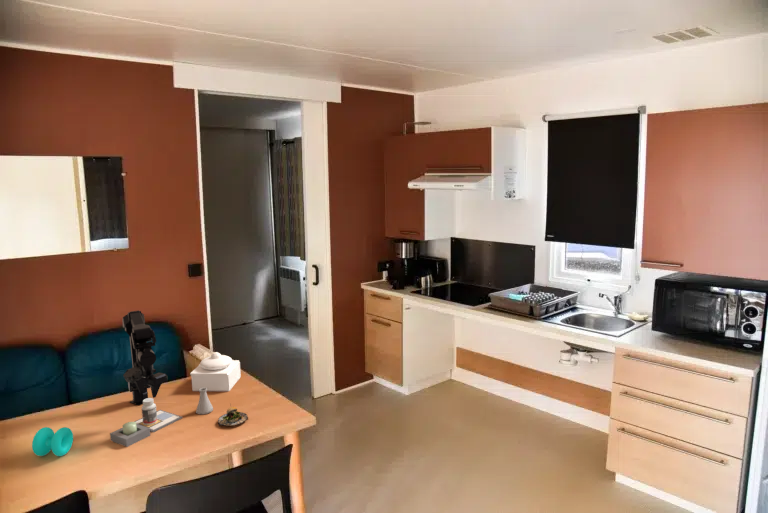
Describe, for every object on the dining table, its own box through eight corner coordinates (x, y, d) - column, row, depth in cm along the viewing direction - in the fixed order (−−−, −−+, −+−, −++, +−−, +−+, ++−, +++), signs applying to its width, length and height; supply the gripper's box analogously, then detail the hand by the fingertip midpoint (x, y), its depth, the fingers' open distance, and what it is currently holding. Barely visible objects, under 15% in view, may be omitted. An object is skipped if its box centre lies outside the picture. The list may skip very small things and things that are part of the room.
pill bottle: (140, 422, 216) (138, 400, 215) (153, 418, 220) (151, 395, 219) (146, 426, 213) (144, 403, 211) (159, 422, 217) (157, 399, 215)
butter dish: (229, 391, 248) (227, 359, 245) (191, 391, 249) (188, 359, 246) (241, 377, 265) (239, 346, 263) (205, 376, 266) (203, 346, 263)
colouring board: (130, 424, 217) (130, 422, 216) (160, 410, 228) (160, 409, 228) (153, 432, 210) (153, 430, 209) (182, 418, 222) (182, 416, 221)
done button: (120, 435, 205) (119, 425, 204) (132, 430, 209) (131, 420, 208) (128, 438, 202) (127, 428, 201) (139, 433, 206) (138, 423, 206)
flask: (216, 407, 231) (214, 385, 229) (209, 415, 224) (207, 392, 222) (200, 407, 232) (198, 385, 230) (192, 414, 225) (190, 392, 223)
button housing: (110, 440, 204) (109, 433, 203) (134, 429, 212) (133, 422, 212) (127, 447, 199) (126, 439, 198) (150, 435, 207) (149, 428, 207)
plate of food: (216, 430, 211) (215, 412, 210) (219, 417, 222) (218, 400, 221) (247, 427, 214) (246, 409, 212) (248, 414, 225) (247, 397, 224)
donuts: (50, 447, 200) (47, 422, 198) (76, 447, 199) (73, 422, 198) (32, 461, 190) (28, 435, 188) (59, 461, 190) (56, 435, 188)
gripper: (111, 361, 210) (115, 398, 212) (141, 369, 200) (145, 408, 203) (136, 352, 219) (140, 388, 222) (166, 360, 210) (169, 397, 212)
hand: (147, 395), depth 214 cm, fingers open, 8 cm apart
